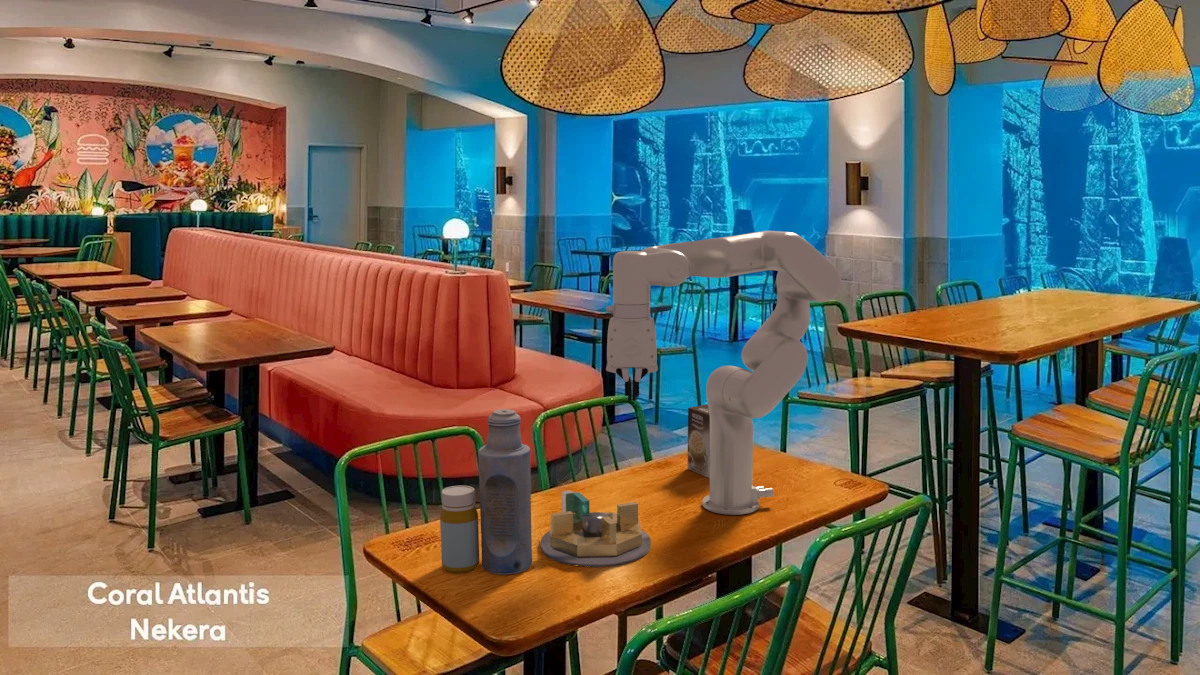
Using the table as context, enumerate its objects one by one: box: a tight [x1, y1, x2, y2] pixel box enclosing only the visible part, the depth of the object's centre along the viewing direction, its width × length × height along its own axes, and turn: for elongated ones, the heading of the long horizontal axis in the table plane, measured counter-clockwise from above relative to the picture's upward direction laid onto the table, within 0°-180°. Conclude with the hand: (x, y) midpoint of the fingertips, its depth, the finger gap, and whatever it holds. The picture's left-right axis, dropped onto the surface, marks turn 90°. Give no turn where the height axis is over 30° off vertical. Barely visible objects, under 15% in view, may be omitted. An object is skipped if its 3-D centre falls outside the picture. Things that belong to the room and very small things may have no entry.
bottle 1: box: [439, 485, 480, 574], centre depth 177 cm, size 7×7×15 cm
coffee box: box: [686, 403, 710, 479], centre depth 235 cm, size 9×6×16 cm
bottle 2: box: [478, 408, 533, 575], centre depth 177 cm, size 10×10×30 cm
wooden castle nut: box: [549, 491, 642, 556], centre depth 189 cm, size 20×18×6 cm
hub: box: [540, 489, 652, 568], centre depth 188 cm, size 22×22×8 cm
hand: (632, 399), depth 196 cm, fingers closed
